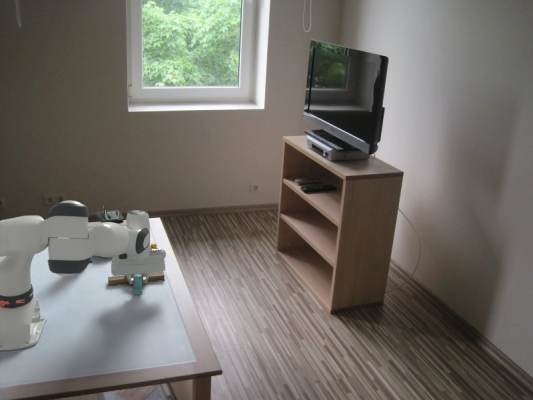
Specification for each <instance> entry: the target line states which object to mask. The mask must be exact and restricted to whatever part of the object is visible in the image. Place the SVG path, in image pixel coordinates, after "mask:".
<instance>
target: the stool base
mask: <svg viewBox="0 0 533 400" xmlns="http://www.w3.org/2000/svg"><path fill="white" fill-rule="evenodd" d="M134 275H136V274H131V278H134V277H133V276H134ZM140 275H142V287H143V286H145V285H147V284H148V283H151V282H153V283H154V282H162V281H163V282H165V272H164V271H163V272H154V273H150V276H149V278H148V279H147V283H143V277H145V276H146V275H147V274H146V273H143V274H140ZM107 282H108V283H107V285H108V287H112V286H113V287H114V286H123V285H126V286H128V287H131V288H134V287H133V284H130V280H129V279H128V277H127V275H120V276H113V275H112V276H108V277H107Z"/></svg>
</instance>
